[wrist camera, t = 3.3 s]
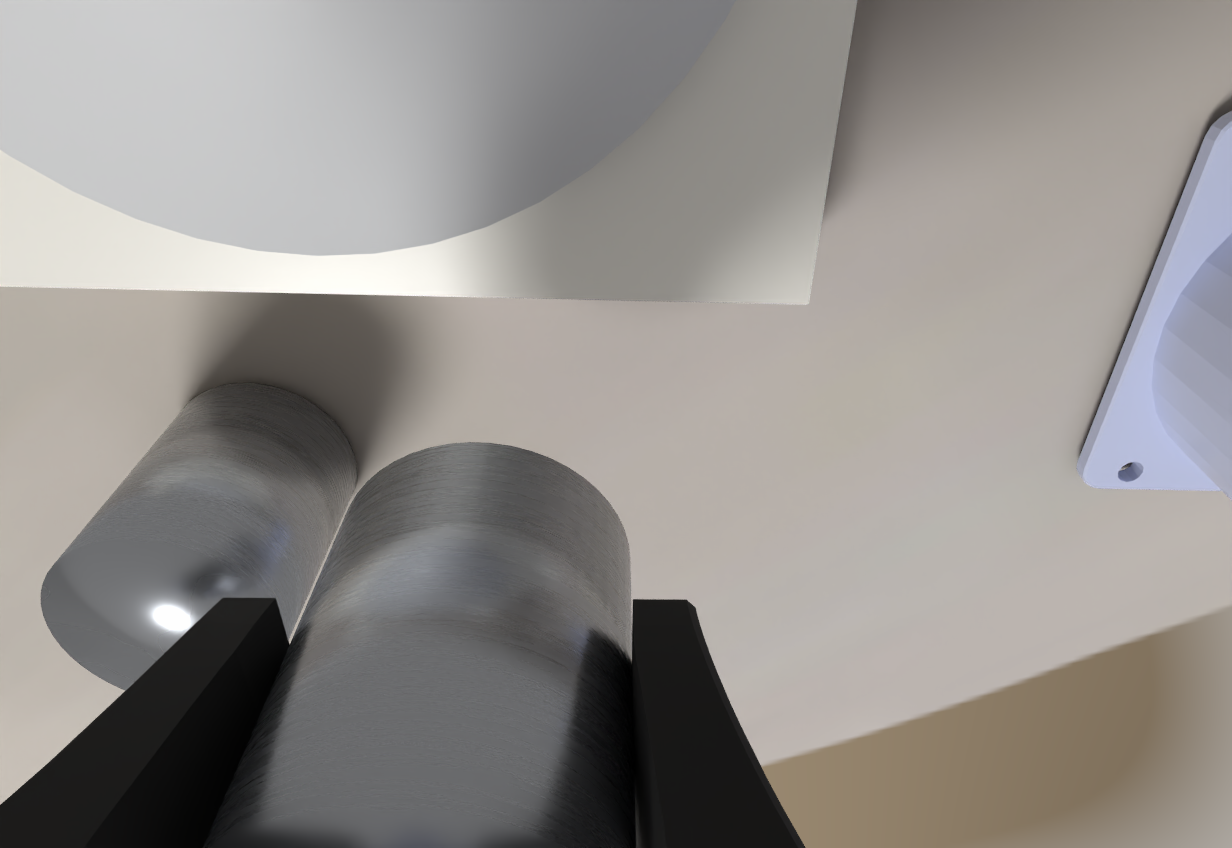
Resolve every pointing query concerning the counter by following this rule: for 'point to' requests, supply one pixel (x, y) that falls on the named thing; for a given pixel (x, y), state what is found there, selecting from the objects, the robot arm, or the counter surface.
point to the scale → (421, 146)
